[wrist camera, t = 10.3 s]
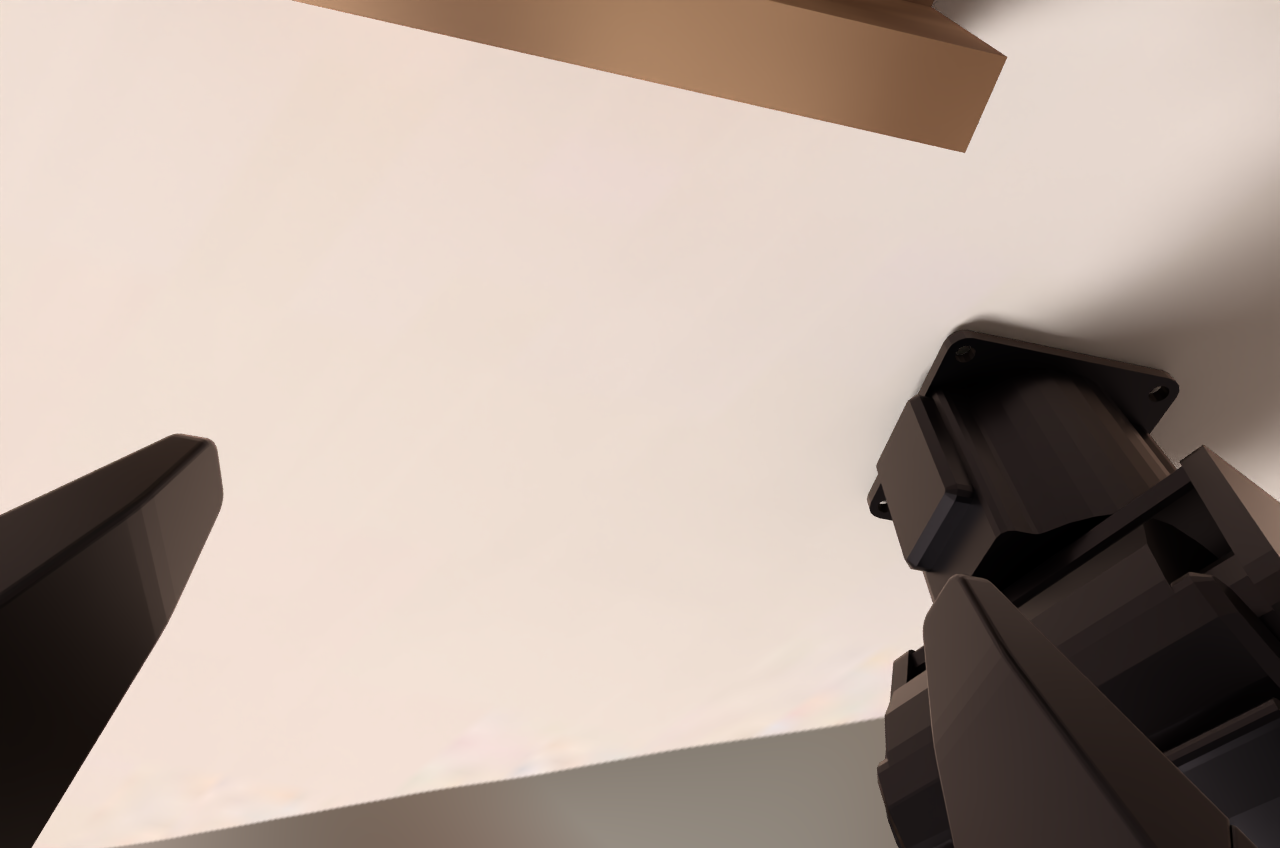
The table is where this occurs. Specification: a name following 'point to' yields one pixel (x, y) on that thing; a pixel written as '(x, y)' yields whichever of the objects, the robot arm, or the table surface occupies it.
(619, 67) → the cleat rack
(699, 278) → the table surface
